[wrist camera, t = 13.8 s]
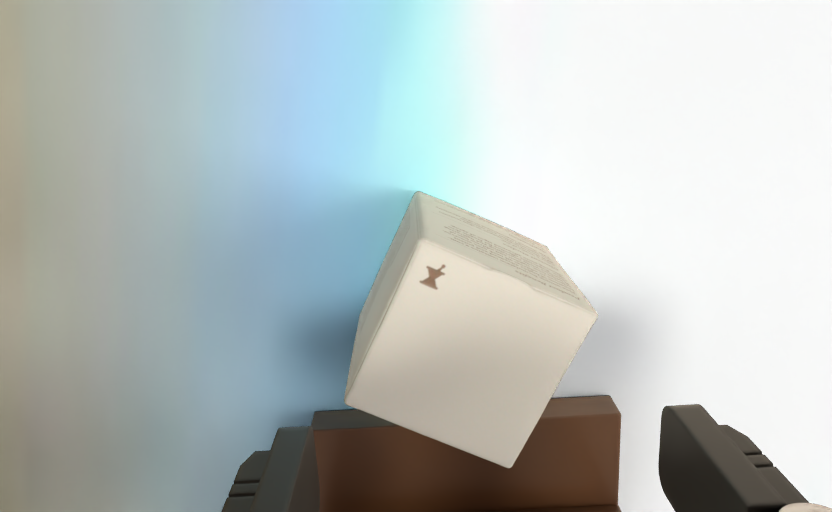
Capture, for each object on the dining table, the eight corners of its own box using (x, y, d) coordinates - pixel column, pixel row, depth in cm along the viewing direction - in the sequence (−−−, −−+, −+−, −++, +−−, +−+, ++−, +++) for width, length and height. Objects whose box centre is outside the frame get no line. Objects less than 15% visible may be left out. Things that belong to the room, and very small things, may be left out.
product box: (355, 316, 27) (336, 404, 20) (416, 185, 25) (417, 231, 18) (486, 370, 28) (511, 474, 21) (553, 247, 26) (605, 314, 19)
